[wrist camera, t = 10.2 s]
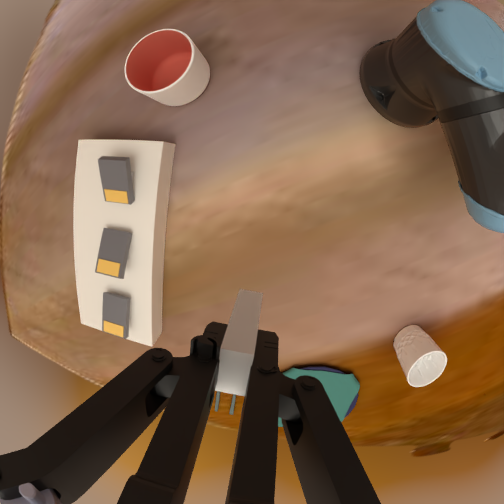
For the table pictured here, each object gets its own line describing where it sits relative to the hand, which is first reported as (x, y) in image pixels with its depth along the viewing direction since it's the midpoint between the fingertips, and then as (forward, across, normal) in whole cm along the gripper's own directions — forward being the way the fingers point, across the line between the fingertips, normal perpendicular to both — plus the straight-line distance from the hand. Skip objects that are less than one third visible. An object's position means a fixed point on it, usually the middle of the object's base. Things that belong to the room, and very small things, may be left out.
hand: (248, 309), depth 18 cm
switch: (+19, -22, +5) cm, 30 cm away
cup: (+27, -17, +22) cm, 39 cm away
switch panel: (+26, -24, -6) cm, 36 cm away
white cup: (+27, +31, -16) cm, 44 cm away
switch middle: (+19, -22, -6) cm, 30 cm away
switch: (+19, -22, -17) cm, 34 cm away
